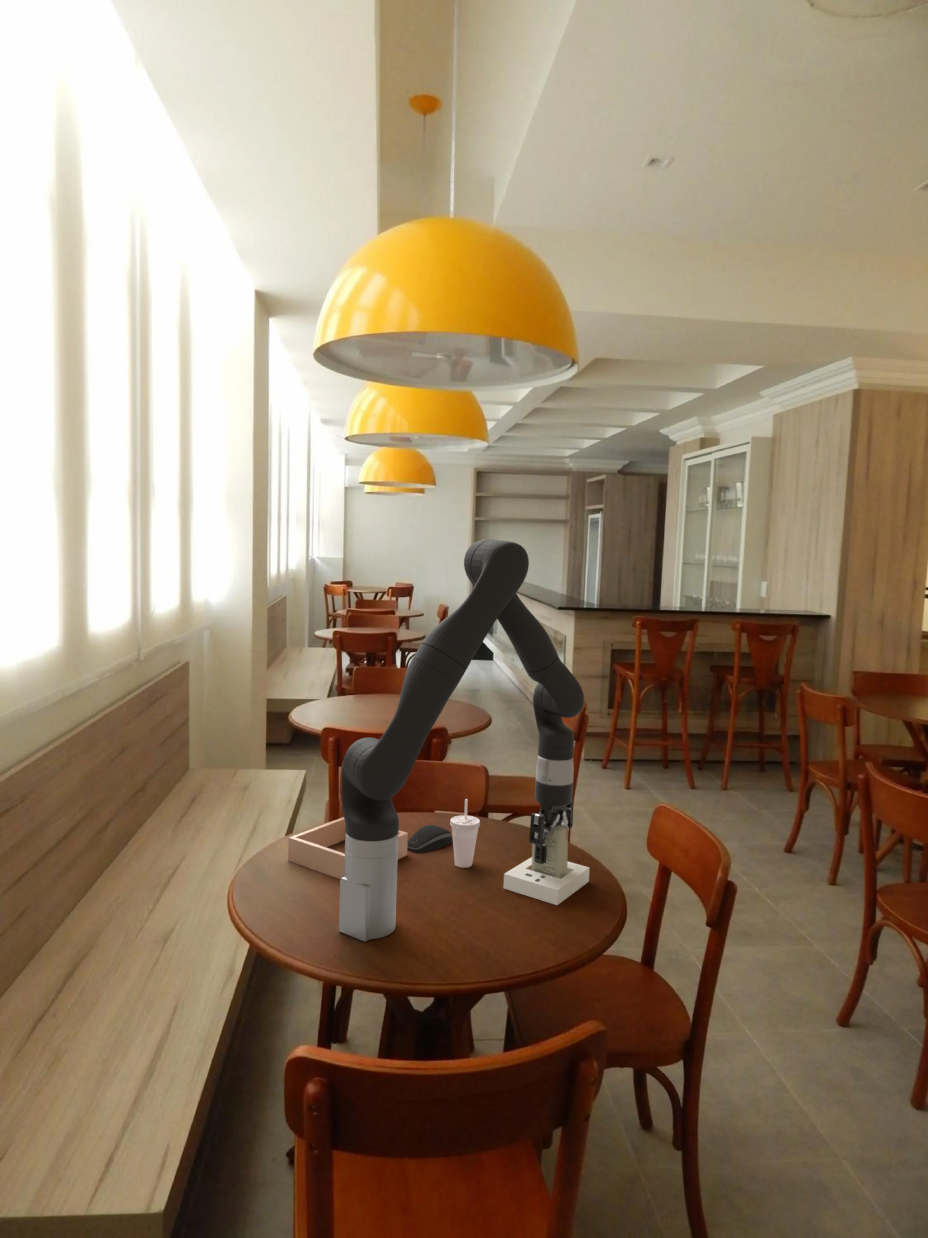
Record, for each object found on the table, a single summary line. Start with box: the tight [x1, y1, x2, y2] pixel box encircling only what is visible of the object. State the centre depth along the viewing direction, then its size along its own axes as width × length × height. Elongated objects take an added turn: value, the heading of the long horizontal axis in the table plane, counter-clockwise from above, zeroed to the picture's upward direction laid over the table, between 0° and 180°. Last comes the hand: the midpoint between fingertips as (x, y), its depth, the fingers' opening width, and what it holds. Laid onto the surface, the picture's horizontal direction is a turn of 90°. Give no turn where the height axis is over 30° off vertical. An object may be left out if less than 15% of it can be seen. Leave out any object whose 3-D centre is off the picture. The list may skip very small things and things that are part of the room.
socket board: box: [502, 856, 590, 906], centre depth 160 cm, size 14×12×4 cm
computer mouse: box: [407, 824, 453, 854], centre depth 180 cm, size 7×12×4 cm, turn 138°
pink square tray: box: [287, 816, 409, 880], centre depth 170 cm, size 18×17×5 cm
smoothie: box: [449, 798, 481, 869], centre depth 168 cm, size 6×6×14 cm
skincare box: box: [531, 824, 569, 879], centre depth 160 cm, size 6×4×12 cm
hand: (550, 856), depth 160 cm, fingers open, 8 cm apart
